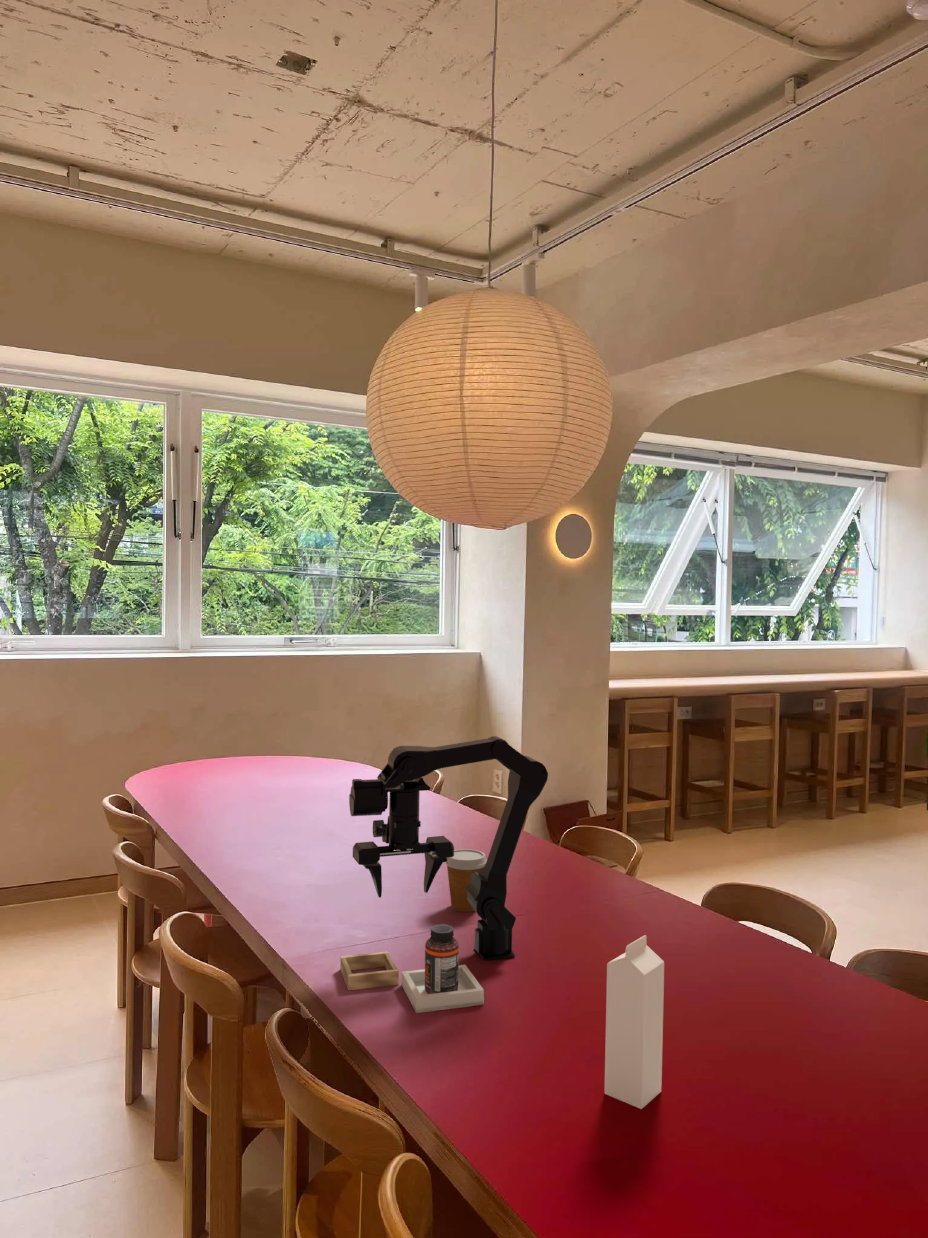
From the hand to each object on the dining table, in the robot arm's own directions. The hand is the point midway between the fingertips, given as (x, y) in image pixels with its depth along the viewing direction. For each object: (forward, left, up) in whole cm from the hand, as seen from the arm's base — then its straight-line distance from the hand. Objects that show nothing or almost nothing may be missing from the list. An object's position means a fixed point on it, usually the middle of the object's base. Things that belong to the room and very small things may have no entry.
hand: (402, 894), depth 170 cm
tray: (-4, +15, -13) cm, 21 cm away
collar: (+7, +5, -13) cm, 16 cm away
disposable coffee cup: (-21, -26, -13) cm, 35 cm away
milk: (-22, +52, -13) cm, 58 cm away
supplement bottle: (-4, +15, -13) cm, 20 cm away
